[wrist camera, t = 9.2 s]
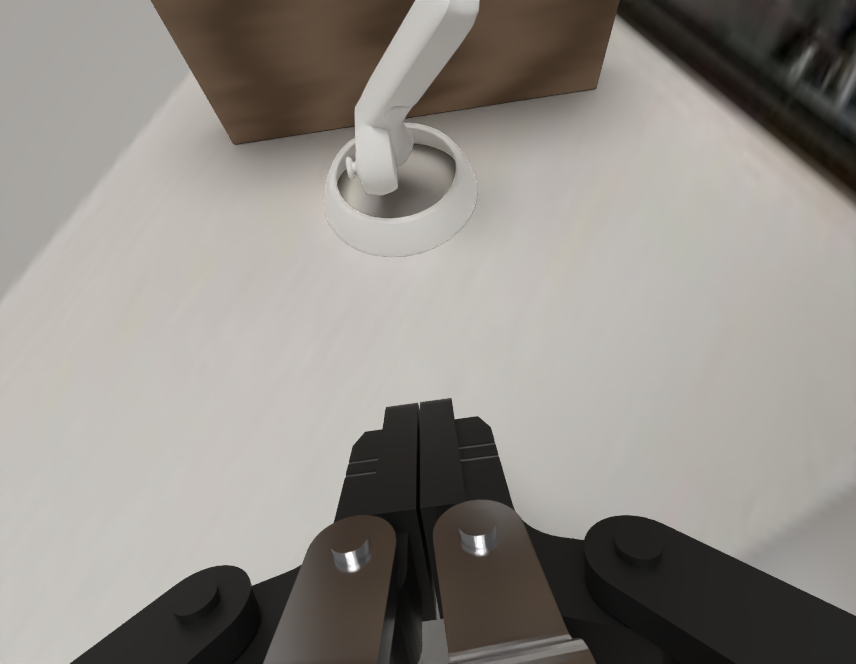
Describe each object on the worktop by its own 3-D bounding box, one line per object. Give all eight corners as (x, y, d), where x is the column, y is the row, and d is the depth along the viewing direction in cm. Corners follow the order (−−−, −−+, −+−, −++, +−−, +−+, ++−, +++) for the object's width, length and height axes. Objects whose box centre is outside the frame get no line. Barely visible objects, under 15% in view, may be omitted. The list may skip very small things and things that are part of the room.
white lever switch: (624, 165, 16) (457, 104, 12) (437, 285, 25) (313, 272, 22) (583, -8, 17) (427, -107, 14) (423, 167, 27) (306, 136, 24)
